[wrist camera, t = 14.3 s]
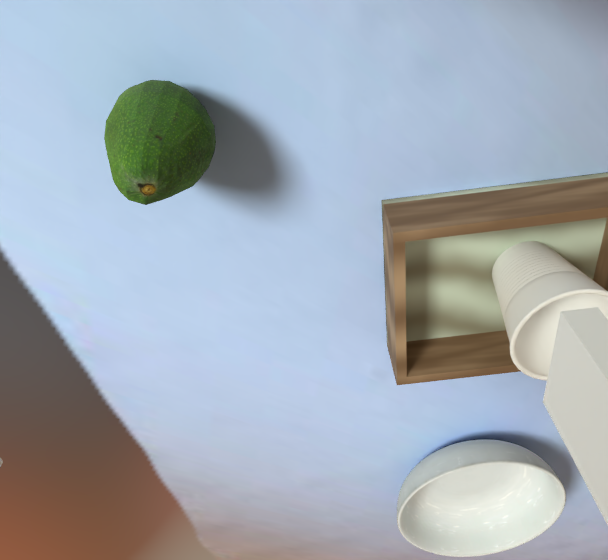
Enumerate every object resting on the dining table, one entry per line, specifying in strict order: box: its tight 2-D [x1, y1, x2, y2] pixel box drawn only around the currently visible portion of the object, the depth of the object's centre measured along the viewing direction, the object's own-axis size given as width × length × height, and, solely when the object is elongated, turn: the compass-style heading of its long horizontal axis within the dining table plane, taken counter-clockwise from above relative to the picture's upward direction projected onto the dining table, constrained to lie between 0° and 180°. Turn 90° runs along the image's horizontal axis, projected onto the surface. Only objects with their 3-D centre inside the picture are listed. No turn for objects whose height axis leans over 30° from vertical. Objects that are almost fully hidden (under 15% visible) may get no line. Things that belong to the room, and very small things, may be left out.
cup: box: [492, 241, 608, 380], centre depth 50 cm, size 10×10×11 cm
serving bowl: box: [397, 439, 566, 557], centre depth 72 cm, size 21×21×7 cm
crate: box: [382, 172, 608, 385], centre depth 53 cm, size 18×22×6 cm
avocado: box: [104, 80, 216, 205], centre depth 41 cm, size 8×8×12 cm
